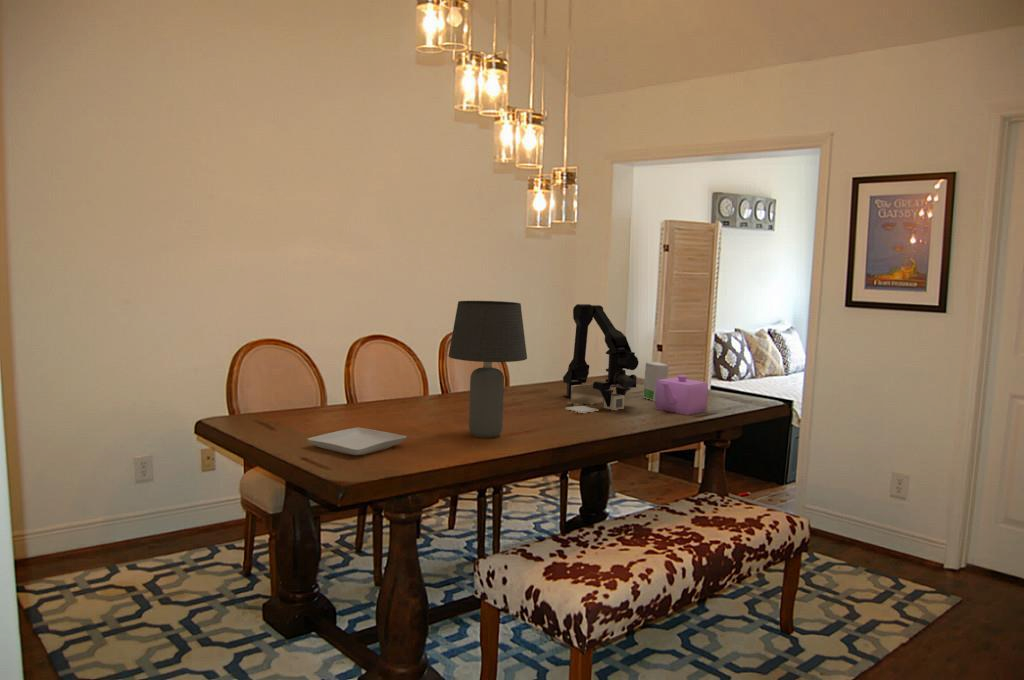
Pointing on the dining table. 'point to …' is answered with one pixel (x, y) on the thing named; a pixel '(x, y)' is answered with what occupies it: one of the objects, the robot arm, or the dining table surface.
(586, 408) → the cream square tile
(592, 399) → the oak screen
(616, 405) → the cream grey-paneled cube
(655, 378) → the skincare box
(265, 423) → the dining table surface
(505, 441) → the dining table surface
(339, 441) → the salad plate
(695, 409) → the violet knobbed box
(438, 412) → the dining table surface
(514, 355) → the lamp
